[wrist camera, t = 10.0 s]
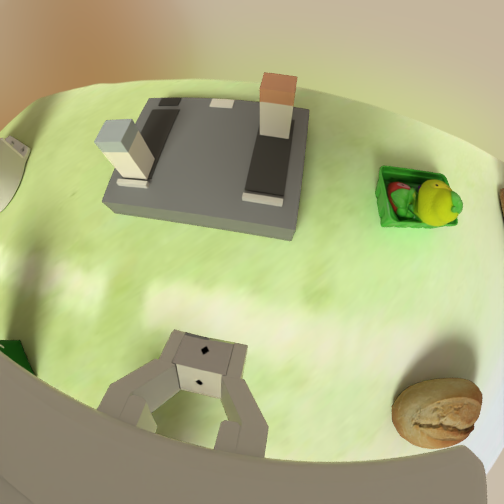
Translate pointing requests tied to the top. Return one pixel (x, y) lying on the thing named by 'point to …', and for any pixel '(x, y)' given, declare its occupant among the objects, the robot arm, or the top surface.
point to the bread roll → (437, 412)
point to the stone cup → (502, 199)
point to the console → (215, 168)
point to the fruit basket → (416, 199)
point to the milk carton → (15, 353)
